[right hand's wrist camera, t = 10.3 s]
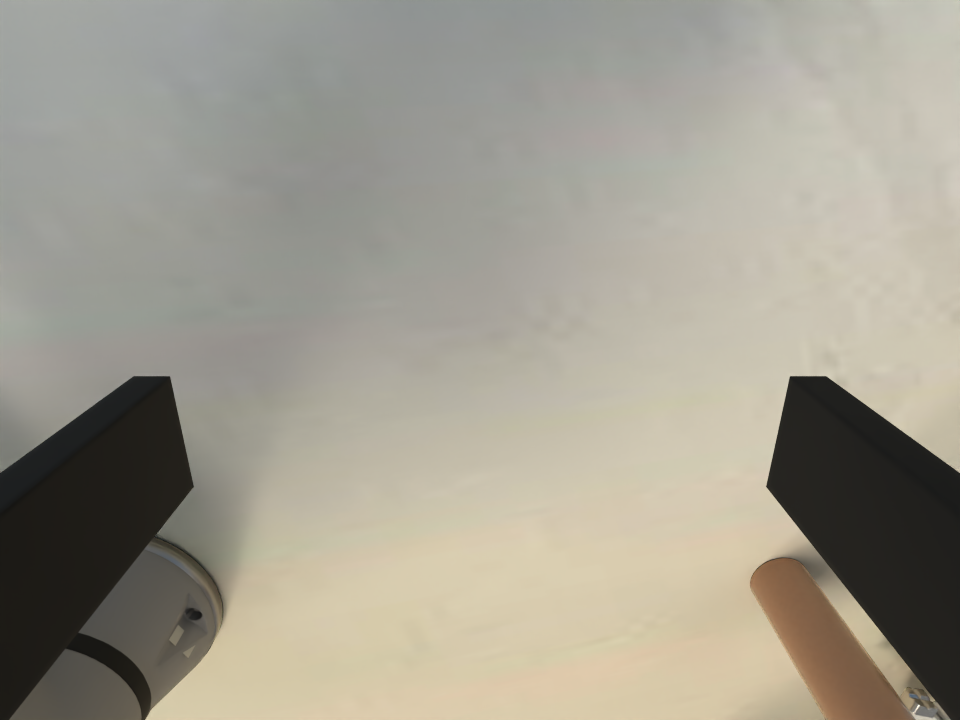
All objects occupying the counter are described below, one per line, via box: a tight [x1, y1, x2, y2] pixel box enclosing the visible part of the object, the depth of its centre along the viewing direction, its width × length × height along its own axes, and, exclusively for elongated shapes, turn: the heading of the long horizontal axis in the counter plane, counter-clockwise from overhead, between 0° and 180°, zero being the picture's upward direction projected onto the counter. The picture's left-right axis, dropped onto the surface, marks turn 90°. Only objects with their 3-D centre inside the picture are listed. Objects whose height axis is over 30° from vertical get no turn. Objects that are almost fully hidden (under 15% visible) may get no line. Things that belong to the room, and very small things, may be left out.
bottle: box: [750, 558, 916, 720], centre depth 39 cm, size 5×5×25 cm
